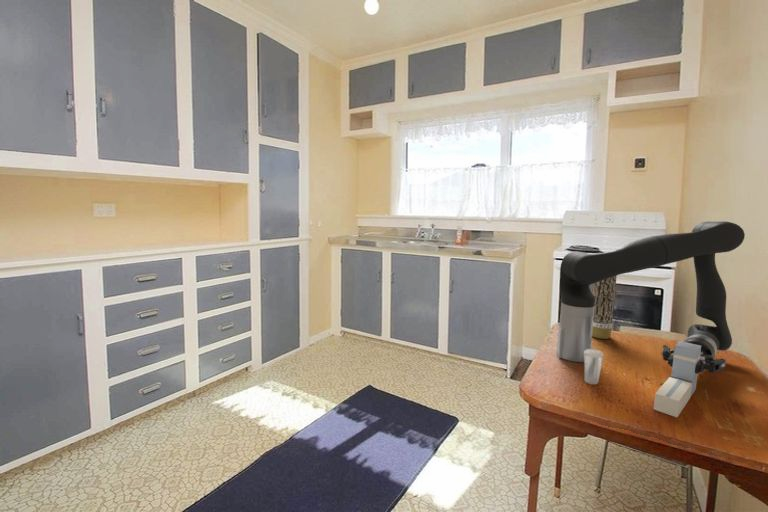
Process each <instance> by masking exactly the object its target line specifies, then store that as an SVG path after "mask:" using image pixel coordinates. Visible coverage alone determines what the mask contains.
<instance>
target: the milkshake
mask: <svg viewBox="0 0 768 512" xmlns="http://www.w3.org/2000/svg"><path fill="white" fill-rule="evenodd" d="M593 346H594V343H593V342H591V349H587V350H585V351H584V362H583V365H584V366H583V368H584V369H583V370H584V371H583V372H584V373H583V374H584V376H583V380H584V382H585V383H587V384H589V385H598V384H599V381H600V380H599V379H600V374H601V368H602V363H603V358H604V354H603V352H602V351H601V350H599V349H594V347H593Z"/></svg>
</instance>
